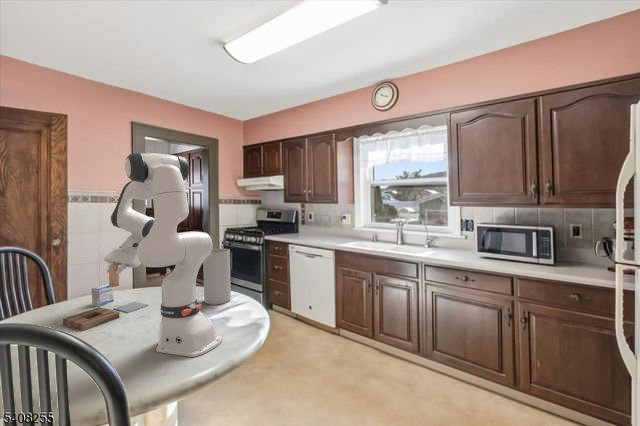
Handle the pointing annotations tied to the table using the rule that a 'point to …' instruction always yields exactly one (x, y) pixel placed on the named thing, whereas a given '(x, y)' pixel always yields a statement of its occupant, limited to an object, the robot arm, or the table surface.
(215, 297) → the cylinder vase
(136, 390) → the table surface
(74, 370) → the table surface
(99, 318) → the pocket block
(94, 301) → the medicine box
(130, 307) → the mat
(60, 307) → the table surface
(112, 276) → the peg
